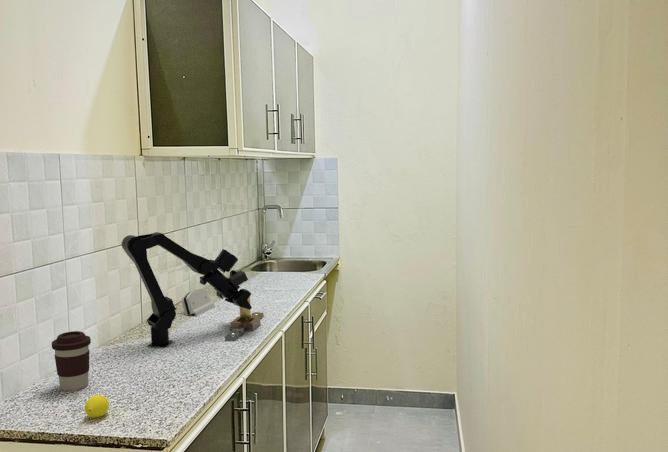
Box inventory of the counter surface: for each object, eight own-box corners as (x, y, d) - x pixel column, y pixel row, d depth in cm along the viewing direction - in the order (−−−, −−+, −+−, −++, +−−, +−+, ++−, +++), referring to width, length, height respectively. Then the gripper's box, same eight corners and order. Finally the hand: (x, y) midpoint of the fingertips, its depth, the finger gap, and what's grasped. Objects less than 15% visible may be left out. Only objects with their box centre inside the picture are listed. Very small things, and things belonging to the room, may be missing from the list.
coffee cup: (49, 386, 168) (45, 334, 166) (85, 377, 174) (81, 327, 173) (63, 396, 161) (59, 342, 159) (99, 386, 167) (96, 334, 166)
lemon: (93, 412, 151) (94, 391, 151) (114, 413, 150) (114, 392, 150) (78, 421, 144) (78, 398, 144) (99, 422, 143) (100, 399, 143)
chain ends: (241, 341, 206) (241, 332, 206) (218, 340, 208) (217, 331, 208) (269, 316, 238) (269, 309, 238) (249, 315, 240) (248, 308, 239)
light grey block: (196, 316, 240) (187, 293, 240) (186, 319, 242) (178, 296, 242) (215, 306, 256) (207, 284, 256) (206, 309, 258) (198, 287, 258)
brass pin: (246, 327, 220) (245, 294, 219) (238, 326, 222) (236, 293, 221) (253, 324, 224) (252, 291, 222) (244, 323, 225) (243, 290, 224)
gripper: (245, 268, 210) (273, 294, 218) (222, 261, 226) (250, 286, 233) (225, 293, 207) (254, 319, 214) (204, 284, 222) (232, 309, 229)
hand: (248, 307), depth 223 cm, fingers closed on brass pin, 4 cm apart
